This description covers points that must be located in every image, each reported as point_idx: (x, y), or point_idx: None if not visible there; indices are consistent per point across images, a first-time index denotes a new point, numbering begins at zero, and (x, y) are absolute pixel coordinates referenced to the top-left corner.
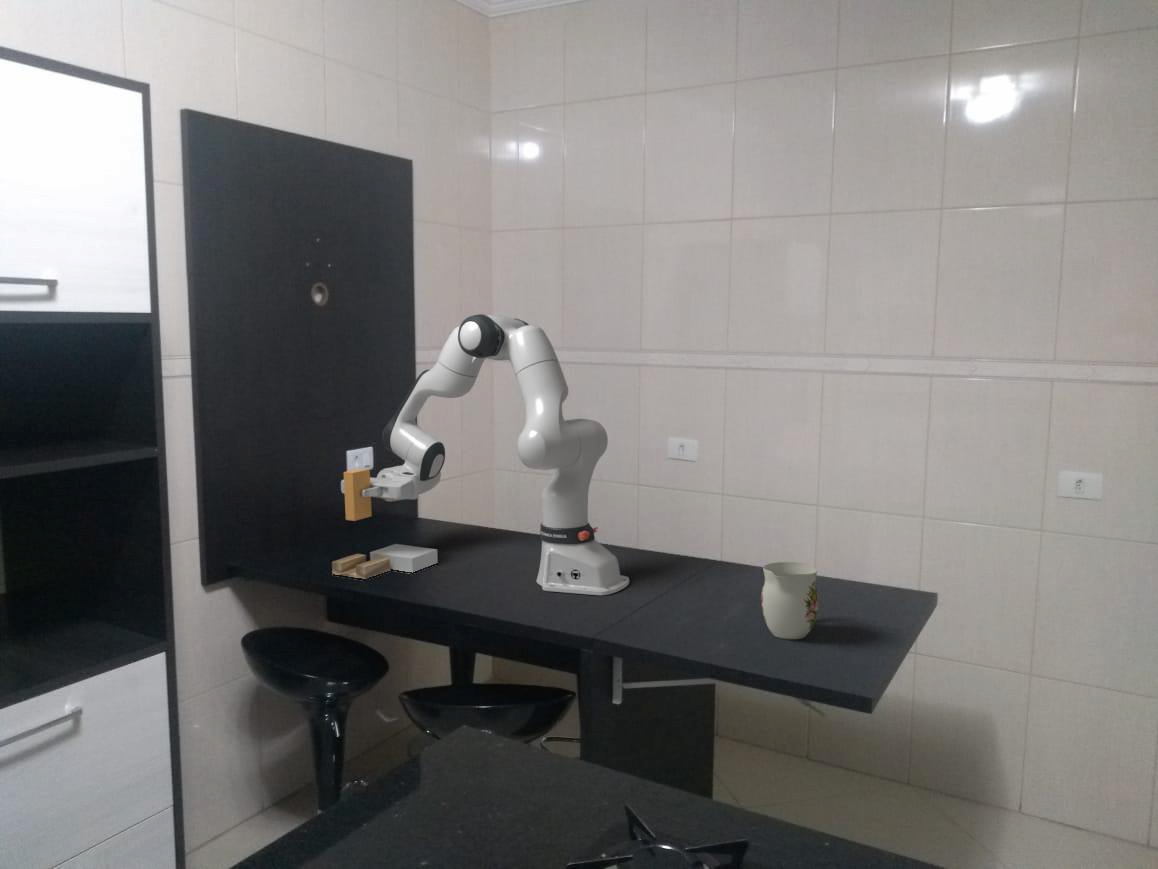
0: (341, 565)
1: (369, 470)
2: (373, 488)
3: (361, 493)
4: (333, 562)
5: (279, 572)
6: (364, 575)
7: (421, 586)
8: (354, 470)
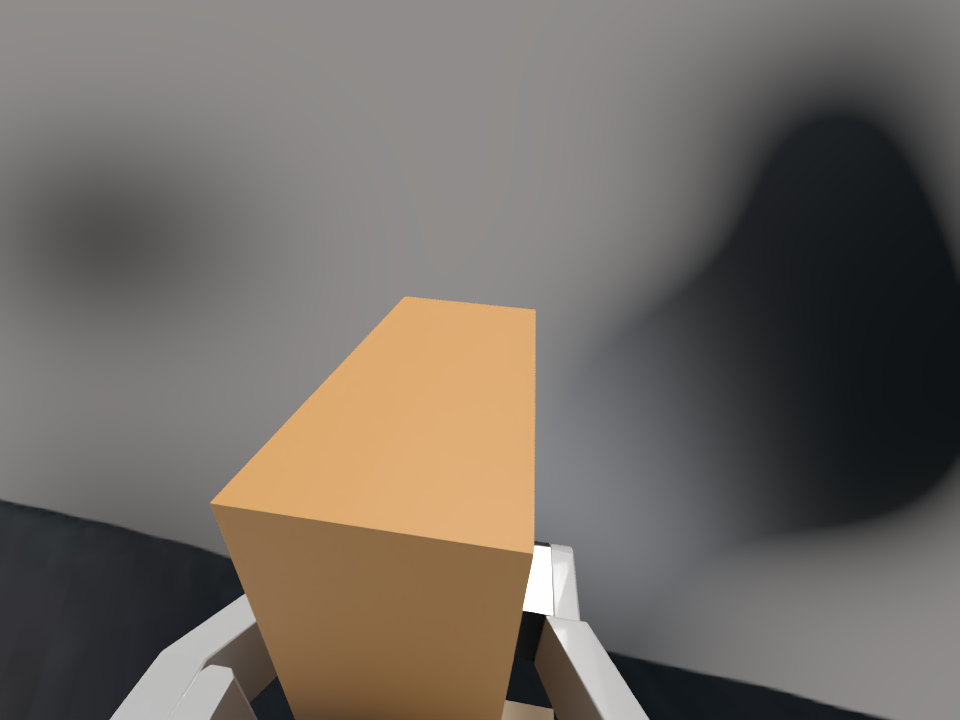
0: None
1: (222, 517)
2: (219, 614)
3: None
4: (543, 709)
5: (772, 699)
6: None
7: (85, 703)
8: (489, 374)
